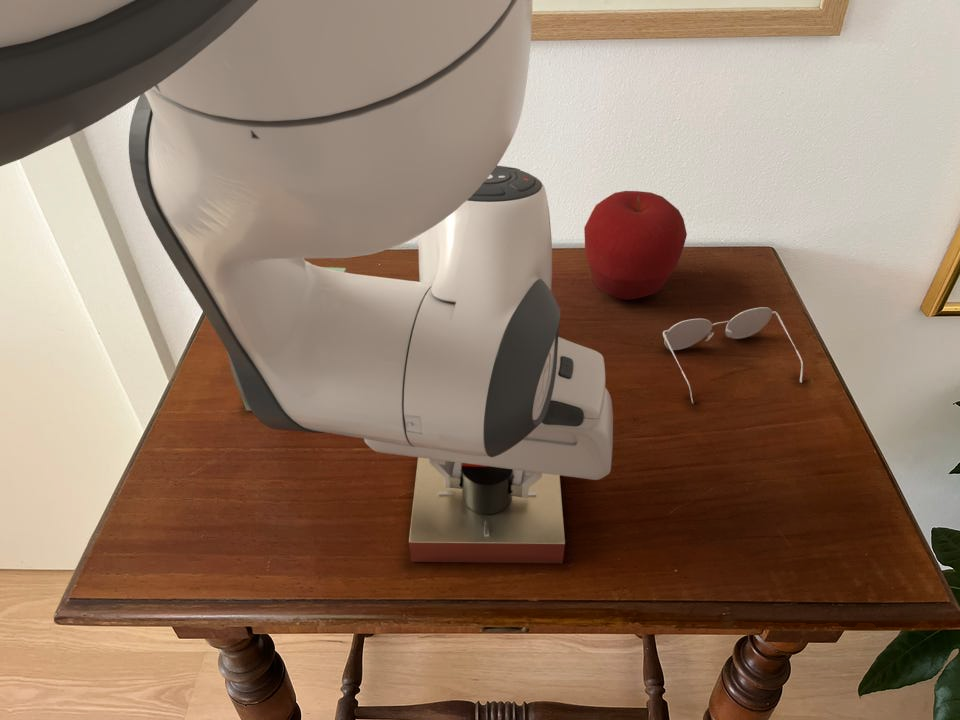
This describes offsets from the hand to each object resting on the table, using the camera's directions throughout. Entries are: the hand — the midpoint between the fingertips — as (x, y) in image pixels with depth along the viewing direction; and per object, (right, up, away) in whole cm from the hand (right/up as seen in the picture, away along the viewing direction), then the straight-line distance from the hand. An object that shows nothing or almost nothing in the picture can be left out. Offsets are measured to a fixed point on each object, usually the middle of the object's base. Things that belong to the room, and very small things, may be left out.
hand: (487, 486), depth 63 cm
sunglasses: (+27, +10, +17) cm, 33 cm away
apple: (+18, +20, +28) cm, 38 cm away
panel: (0, -3, +3) cm, 4 cm away
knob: (0, -1, +1) cm, 1 cm away
